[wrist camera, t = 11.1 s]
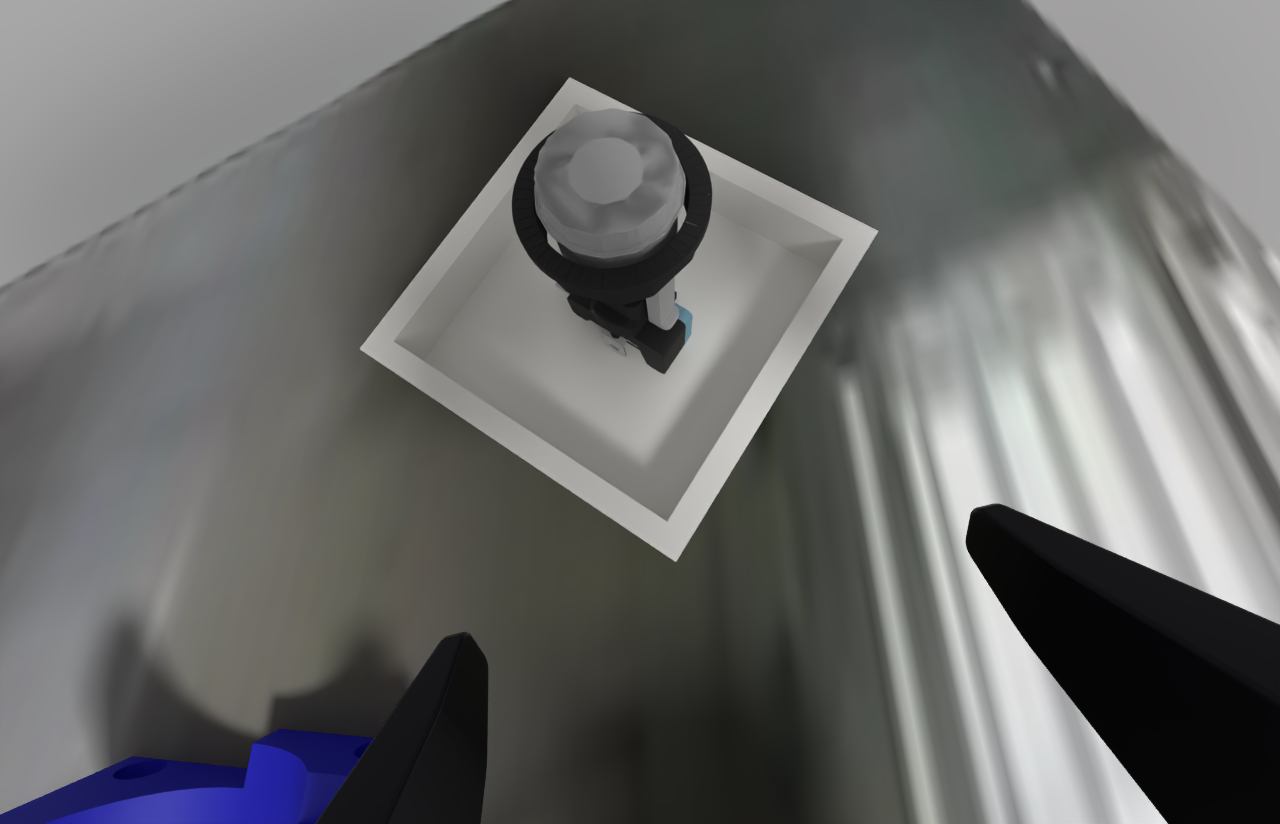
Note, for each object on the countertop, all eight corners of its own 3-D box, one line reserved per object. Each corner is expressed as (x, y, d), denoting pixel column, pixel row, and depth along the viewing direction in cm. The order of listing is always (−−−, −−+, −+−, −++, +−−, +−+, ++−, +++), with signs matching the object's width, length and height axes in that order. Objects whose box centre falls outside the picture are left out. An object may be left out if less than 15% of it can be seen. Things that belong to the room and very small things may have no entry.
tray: (675, 555, 20) (675, 562, 17) (399, 370, 23) (359, 348, 20) (851, 268, 22) (878, 231, 19) (581, 129, 25) (569, 77, 22)
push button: (529, 329, 22) (415, 178, 12) (596, 237, 23) (539, 28, 13) (652, 407, 21) (635, 310, 11) (719, 308, 22) (757, 136, 12)
